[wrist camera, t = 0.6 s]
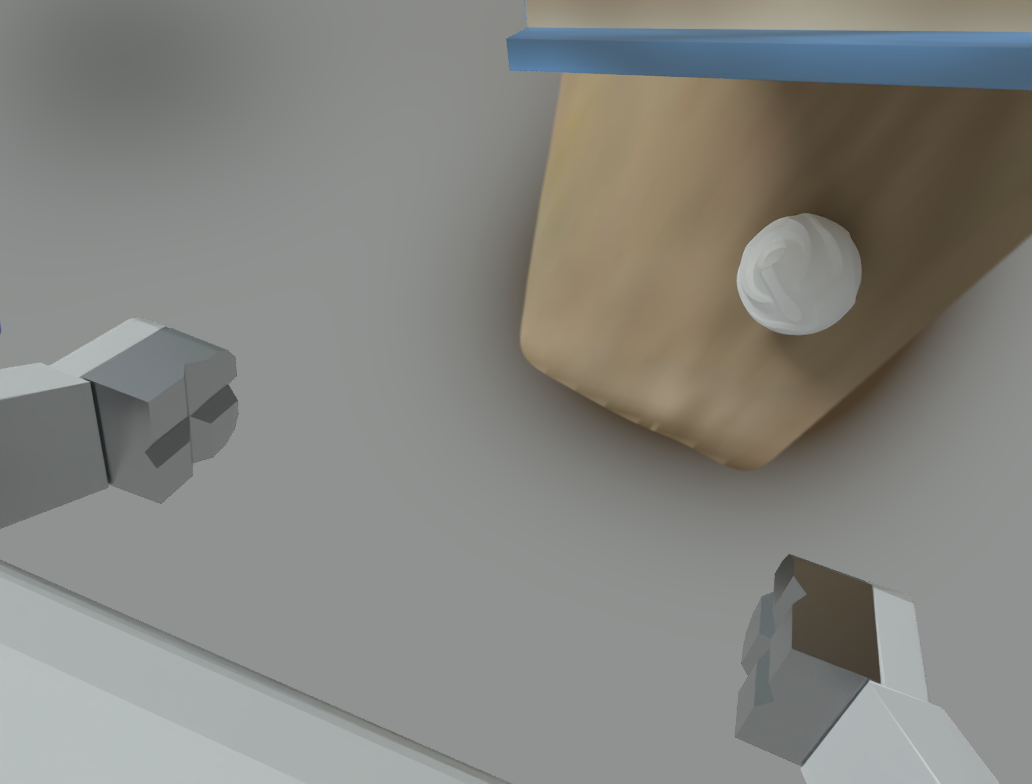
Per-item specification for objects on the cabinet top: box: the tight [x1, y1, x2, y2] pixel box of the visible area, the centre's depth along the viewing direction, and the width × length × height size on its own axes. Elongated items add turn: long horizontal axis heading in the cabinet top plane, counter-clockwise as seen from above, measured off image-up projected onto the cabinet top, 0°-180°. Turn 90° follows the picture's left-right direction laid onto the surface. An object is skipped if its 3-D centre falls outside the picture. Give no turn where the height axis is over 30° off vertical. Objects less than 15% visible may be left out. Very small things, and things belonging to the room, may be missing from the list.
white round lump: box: [737, 213, 862, 335], centre depth 50 cm, size 8×8×8 cm
